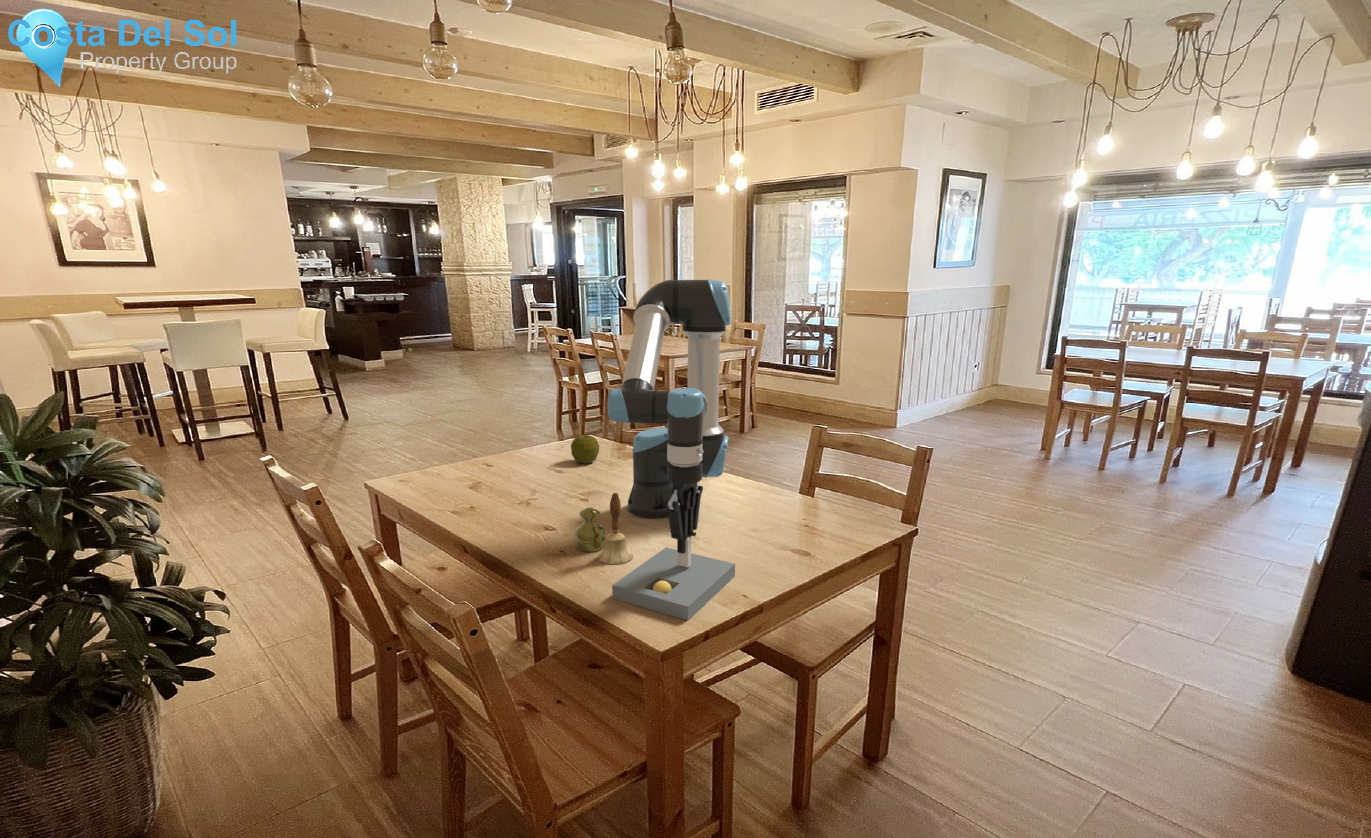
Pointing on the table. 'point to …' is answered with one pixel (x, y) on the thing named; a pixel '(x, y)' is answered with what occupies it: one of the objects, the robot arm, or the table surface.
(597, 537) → the olive green tall piece
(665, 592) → the ball
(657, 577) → the board
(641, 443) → the robot arm
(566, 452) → the table surface
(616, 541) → the hand bell
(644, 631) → the table surface
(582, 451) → the apple
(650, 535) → the table surface
